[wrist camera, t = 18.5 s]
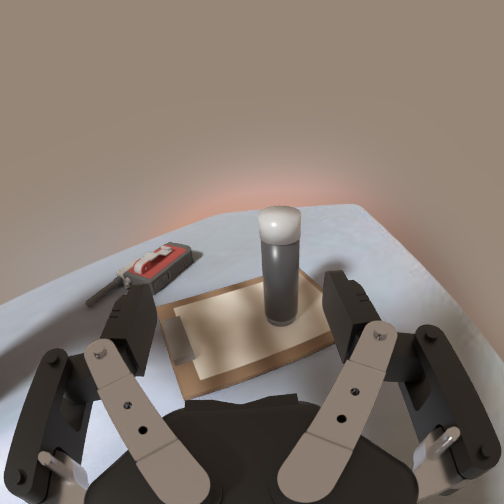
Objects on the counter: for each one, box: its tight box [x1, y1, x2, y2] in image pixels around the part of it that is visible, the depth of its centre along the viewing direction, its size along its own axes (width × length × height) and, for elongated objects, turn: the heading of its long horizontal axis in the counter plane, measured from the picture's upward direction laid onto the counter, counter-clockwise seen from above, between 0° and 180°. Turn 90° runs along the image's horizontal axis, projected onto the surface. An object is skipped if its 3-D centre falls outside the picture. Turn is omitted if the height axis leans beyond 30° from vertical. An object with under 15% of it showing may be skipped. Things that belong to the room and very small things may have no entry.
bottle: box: [258, 206, 301, 327], centre depth 33 cm, size 4×4×14 cm
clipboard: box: [156, 269, 335, 401], centre depth 36 cm, size 22×16×2 cm
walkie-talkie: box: [86, 242, 193, 307], centre depth 45 cm, size 9×4×20 cm
